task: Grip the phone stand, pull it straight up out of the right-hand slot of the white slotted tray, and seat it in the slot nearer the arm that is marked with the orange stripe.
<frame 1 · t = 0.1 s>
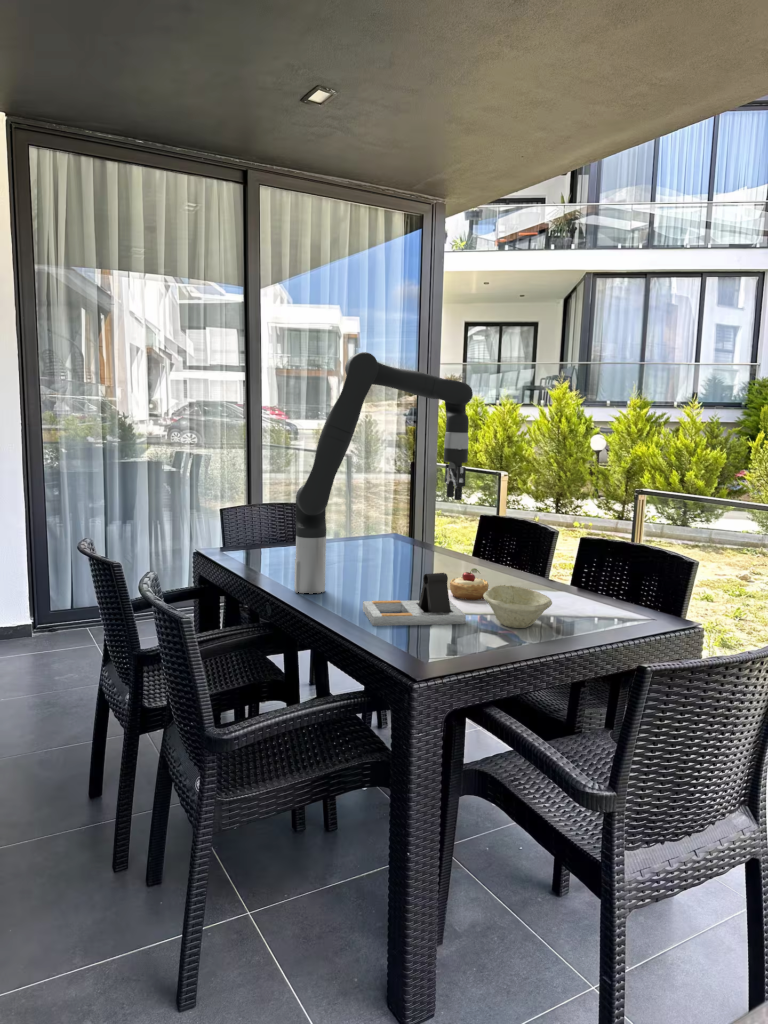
hand: (453, 498, 232), 29 cm above the table, tool pointing down, fingers open, 8 cm apart
pastry: (468, 597, 227), on the table
phone stand: (433, 617, 202), resting in white slotted tray
white slotted tray: (412, 616, 201), on the table
bowl: (516, 625, 196), on the table
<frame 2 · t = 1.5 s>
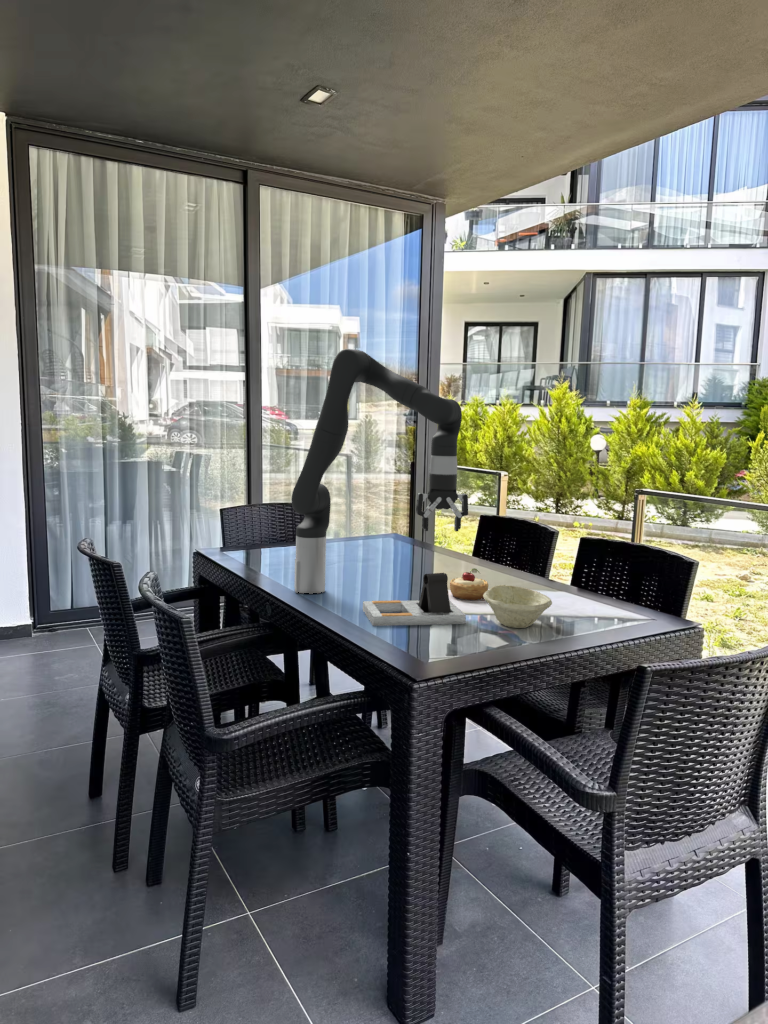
hand: (441, 530, 203), 23 cm above the table, tool pointing down, fingers open, 8 cm apart
nothing on the table moved.
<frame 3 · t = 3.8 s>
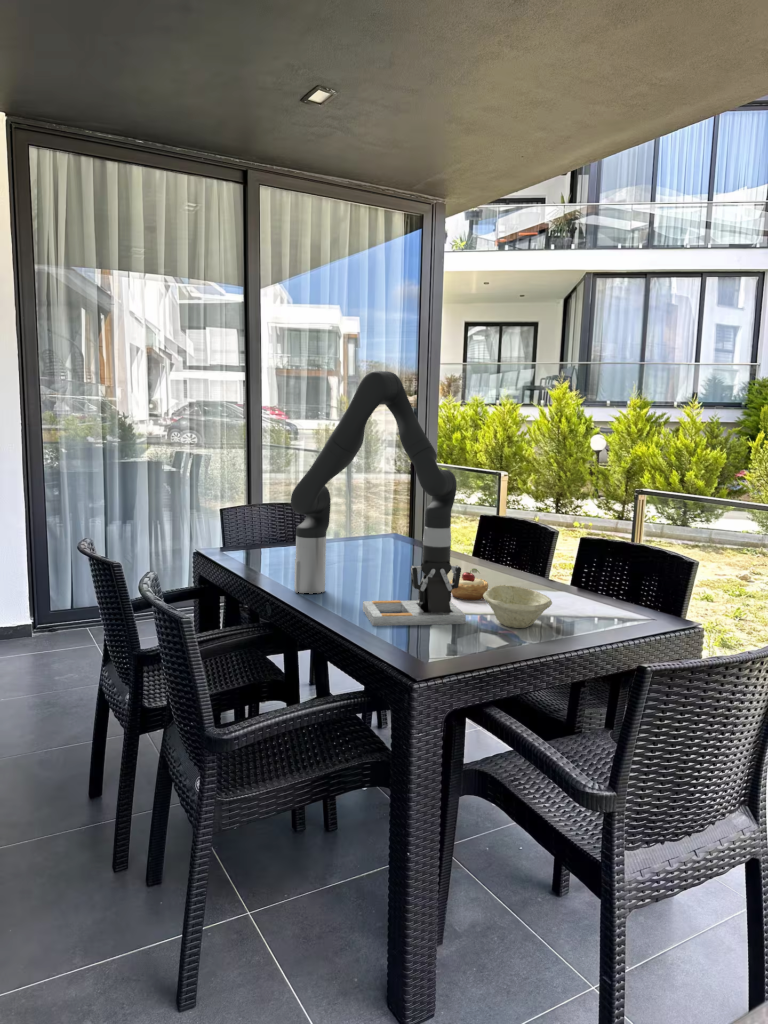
hand: (434, 603, 201), 4 cm above the table, tool pointing down, fingers closed on phone stand, 6 cm apart
phone stand: (433, 617, 202), resting in white slotted tray, touching gripper
everything else where it was.
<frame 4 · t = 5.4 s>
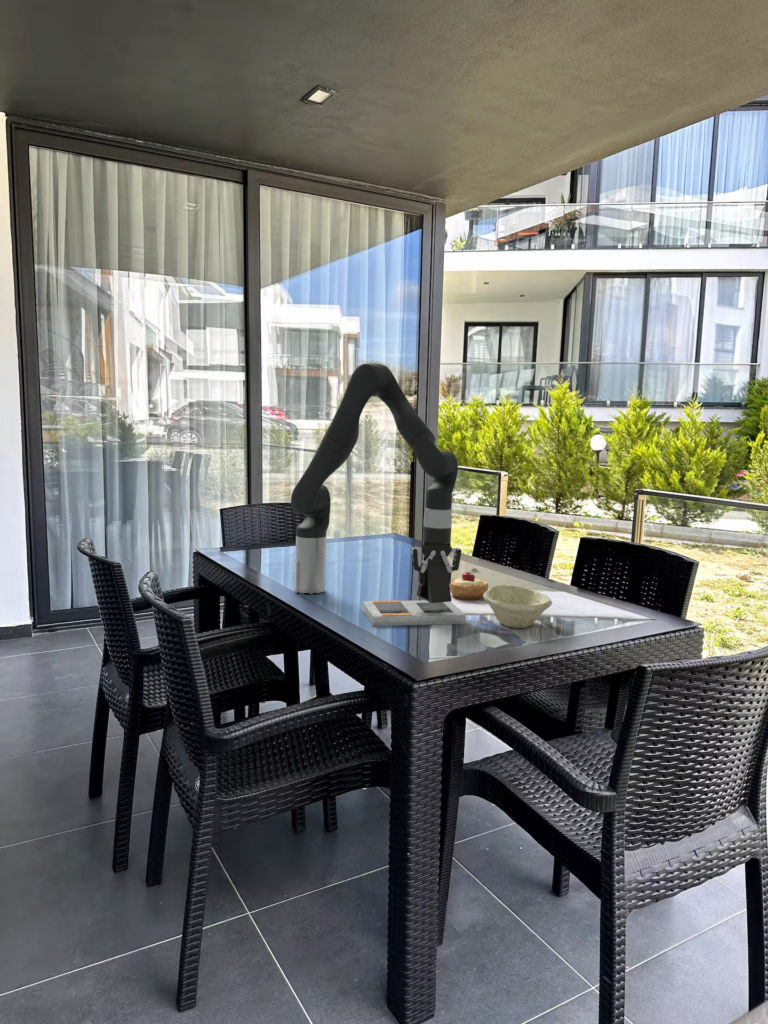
hand: (434, 585, 201), 9 cm above the table, tool pointing down, fingers closed on phone stand, 6 cm apart
phone stand: (433, 599, 201), point 5 cm above the table, touching gripper
everything else where it was.
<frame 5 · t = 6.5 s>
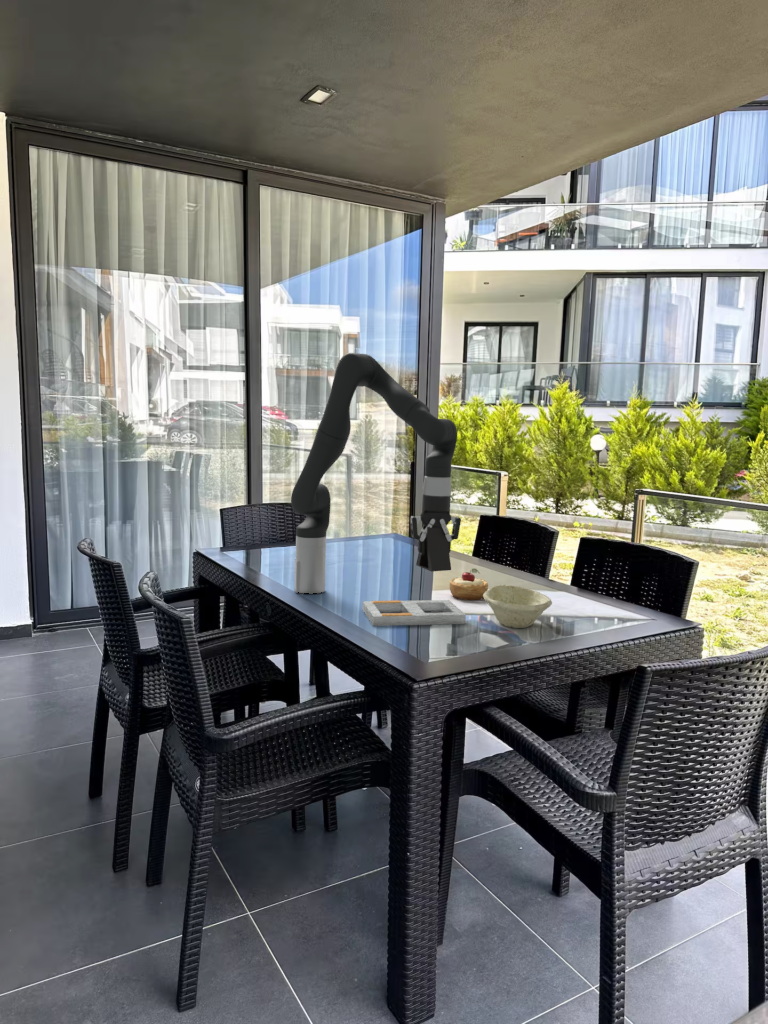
hand: (433, 554, 200), 17 cm above the table, tool pointing down, fingers closed on phone stand, 6 cm apart
phone stand: (433, 568, 200), point 13 cm above the table, touching gripper
everything else where it was.
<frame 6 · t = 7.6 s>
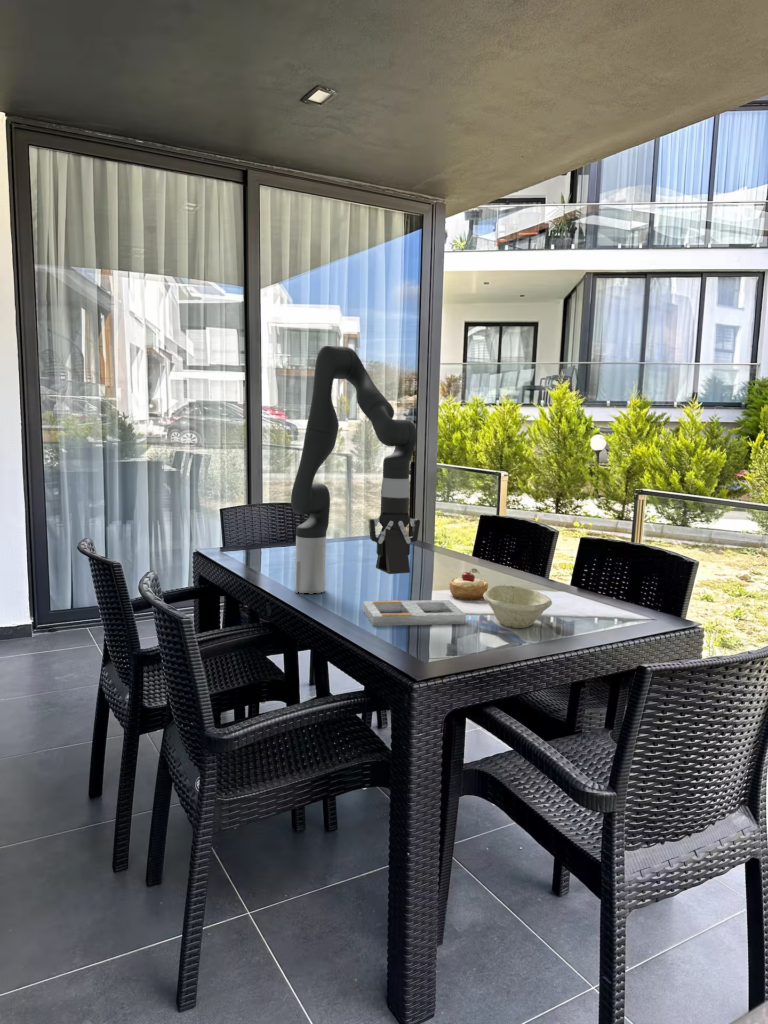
hand: (393, 556, 197), 17 cm above the table, tool pointing down, fingers closed on phone stand, 6 cm apart
phone stand: (392, 571, 198), point 13 cm above the table, touching gripper
everything else where it was.
when the fingers open (5 cm above the table, at t = 10.2 s): phone stand drops 1 cm, resting in white slotted tray.
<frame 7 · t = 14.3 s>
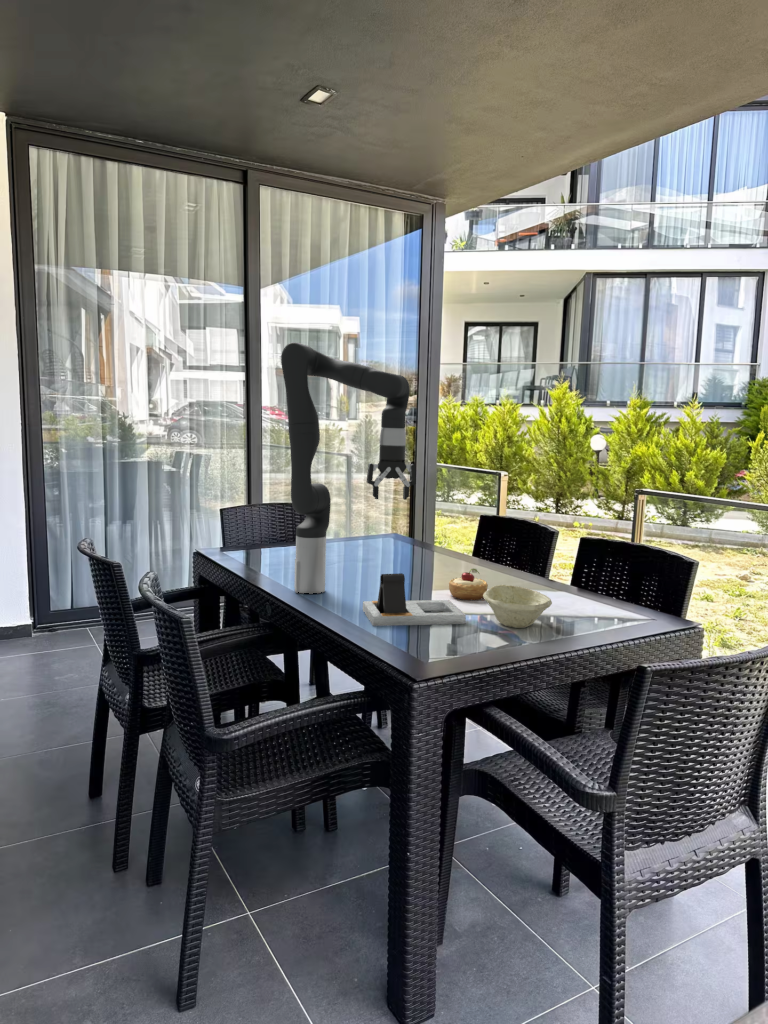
hand: (390, 499, 216), 30 cm above the table, tool pointing down, fingers open, 8 cm apart
phone stand: (391, 618, 199), resting in white slotted tray
everything else where it was.
at the end: phone stand 0.0 cm from the target spot on the white slotted tray, point 0.0 cm above the white slotted tray's base; phone stand tilted 0°; the gripper is holding nothing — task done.
